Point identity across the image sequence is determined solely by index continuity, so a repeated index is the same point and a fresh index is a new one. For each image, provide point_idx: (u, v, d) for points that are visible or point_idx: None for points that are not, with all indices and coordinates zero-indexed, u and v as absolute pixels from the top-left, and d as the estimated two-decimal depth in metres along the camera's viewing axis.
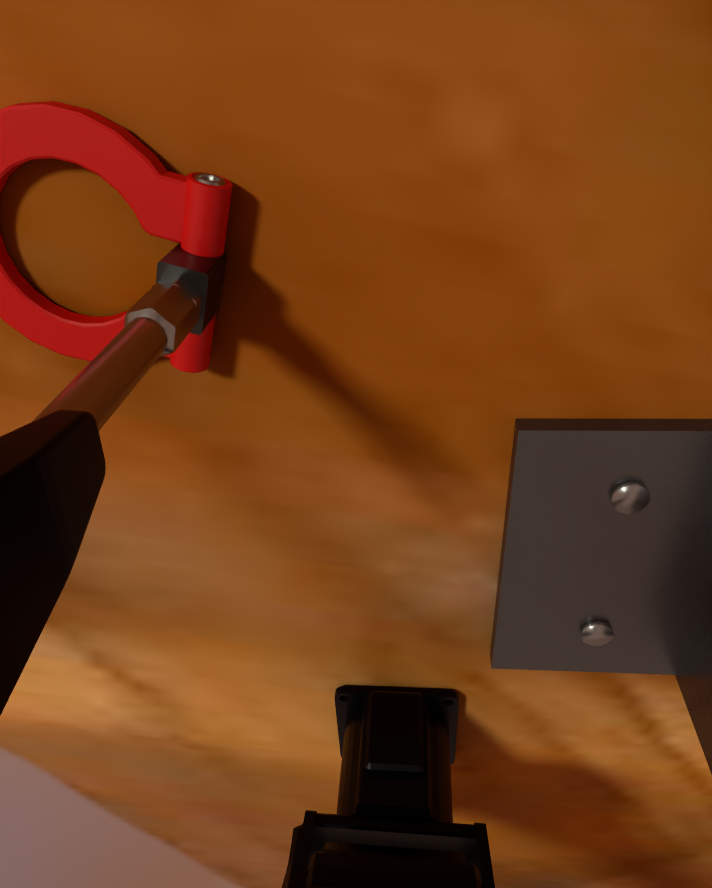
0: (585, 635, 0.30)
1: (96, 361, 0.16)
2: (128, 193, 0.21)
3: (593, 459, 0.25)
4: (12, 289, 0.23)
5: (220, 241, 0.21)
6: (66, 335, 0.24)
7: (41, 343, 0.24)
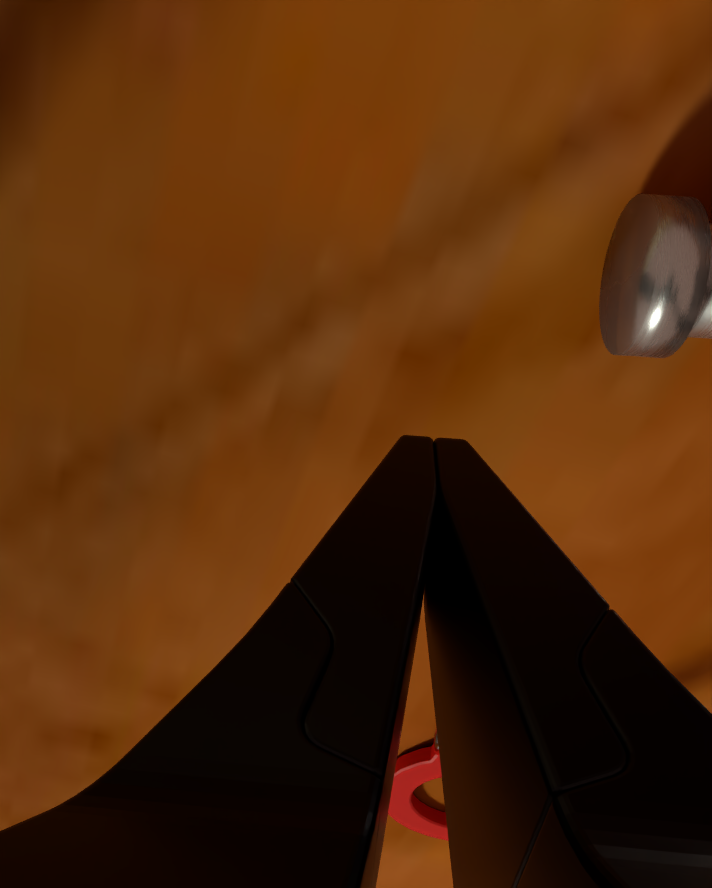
0: None
1: None
2: (439, 775, 0.30)
3: None
4: None
5: None
6: None
7: None
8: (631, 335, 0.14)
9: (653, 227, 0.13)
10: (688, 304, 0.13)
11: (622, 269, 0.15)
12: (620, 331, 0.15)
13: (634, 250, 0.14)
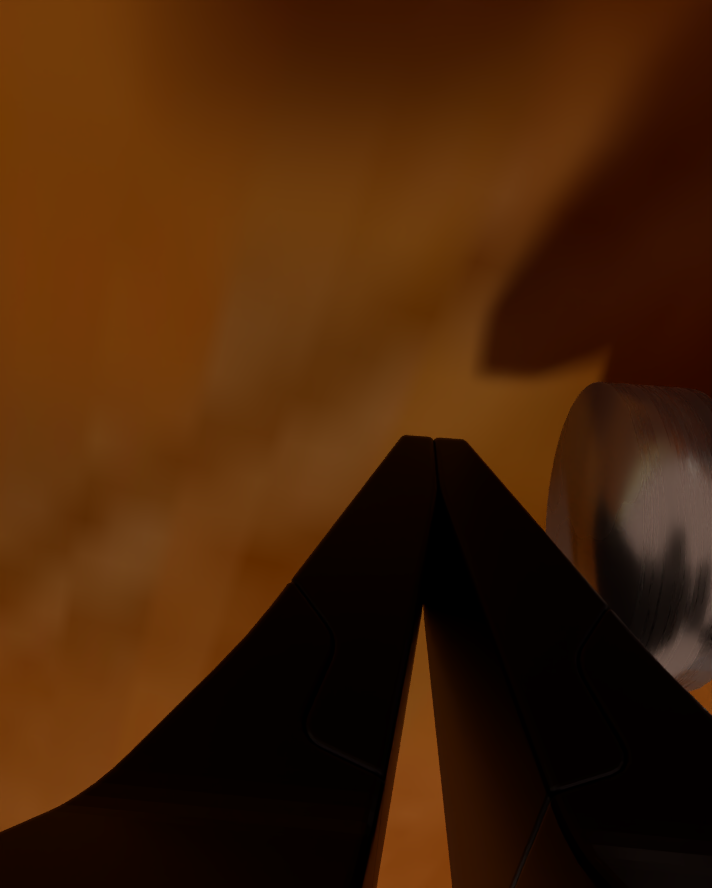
0: None
1: None
2: None
3: None
4: None
5: None
6: None
7: None
8: None
9: (632, 480, 0.06)
10: (705, 645, 0.06)
11: (578, 509, 0.08)
12: None
13: (599, 492, 0.07)
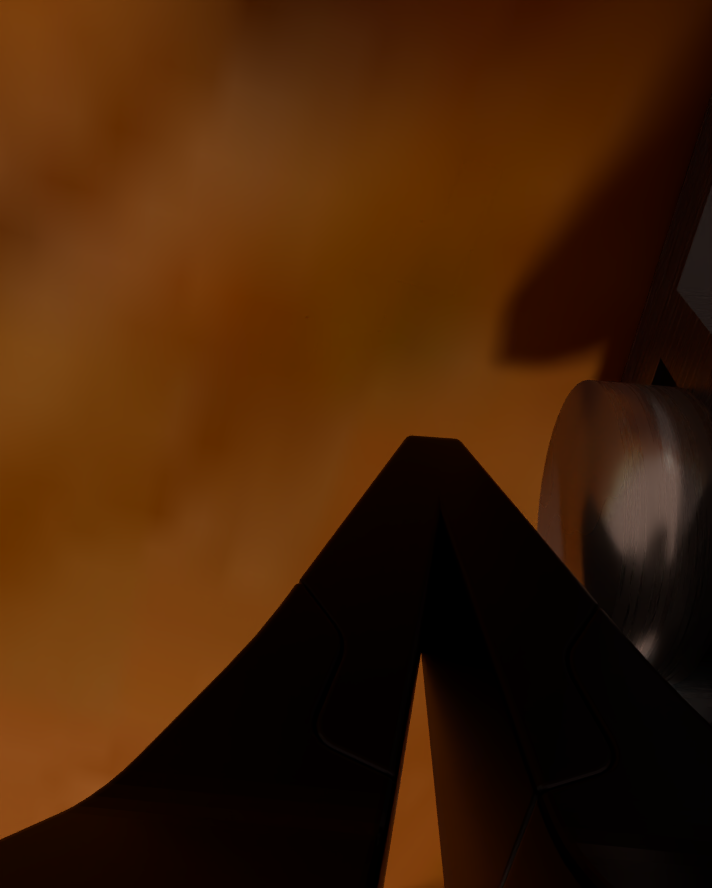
0: None
1: None
2: None
3: None
4: None
5: None
6: None
7: None
8: None
9: (616, 475, 0.06)
10: (685, 639, 0.06)
11: (567, 505, 0.08)
12: None
13: (586, 488, 0.07)
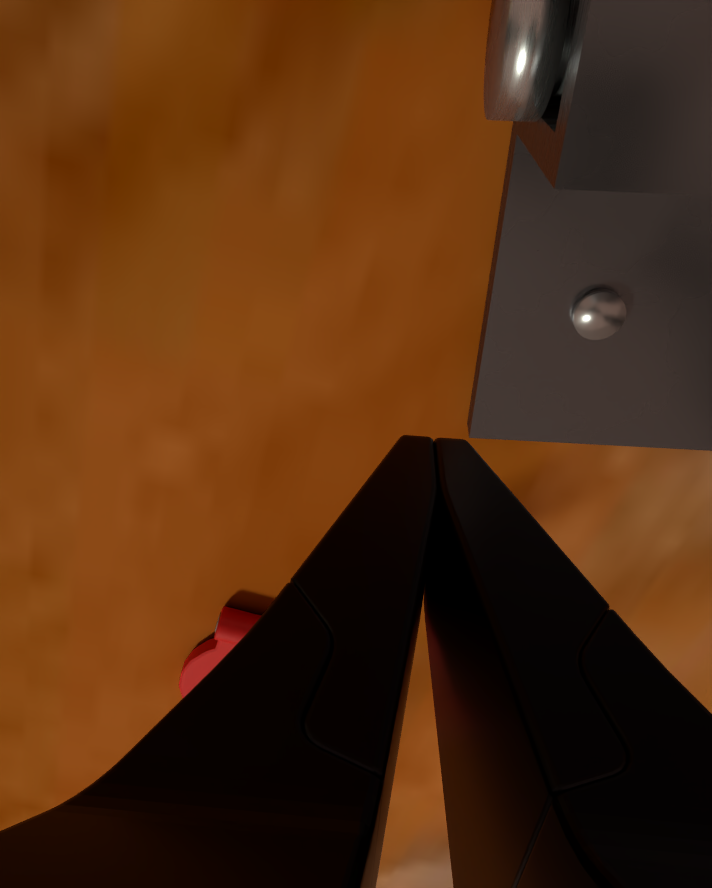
0: None
1: None
2: None
3: (526, 360, 0.20)
4: None
5: None
6: None
7: None
8: (499, 79, 0.13)
9: None
10: (553, 26, 0.12)
11: (496, 22, 0.14)
12: (494, 86, 0.13)
13: None
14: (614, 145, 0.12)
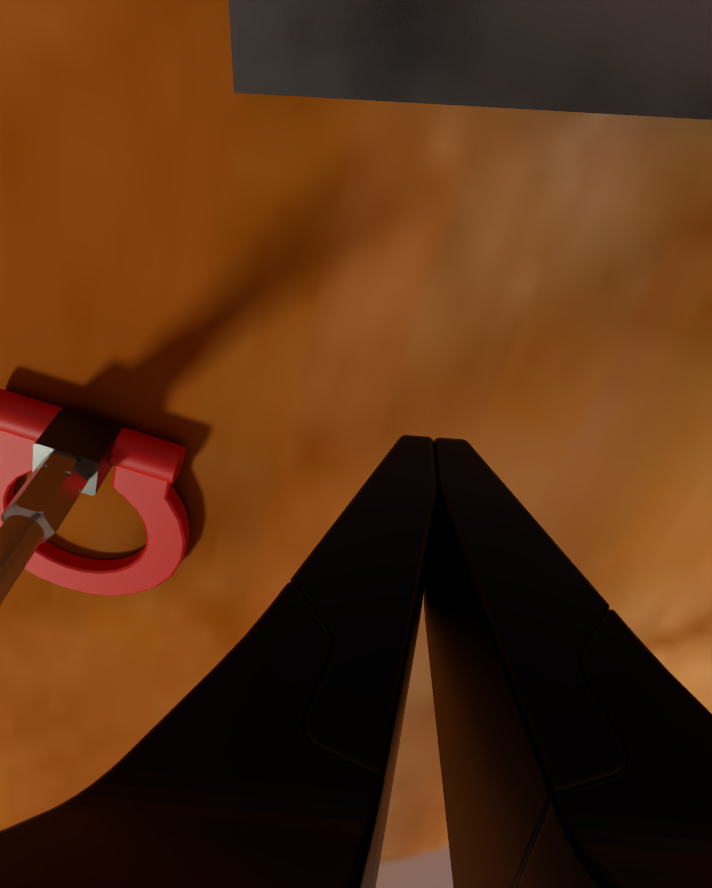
0: None
1: None
2: (16, 471, 0.24)
3: None
4: (125, 571, 0.27)
5: (39, 413, 0.23)
6: (160, 550, 0.26)
7: (172, 569, 0.27)
8: None
9: None
10: None
11: None
12: None
13: None
14: None
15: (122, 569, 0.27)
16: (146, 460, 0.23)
